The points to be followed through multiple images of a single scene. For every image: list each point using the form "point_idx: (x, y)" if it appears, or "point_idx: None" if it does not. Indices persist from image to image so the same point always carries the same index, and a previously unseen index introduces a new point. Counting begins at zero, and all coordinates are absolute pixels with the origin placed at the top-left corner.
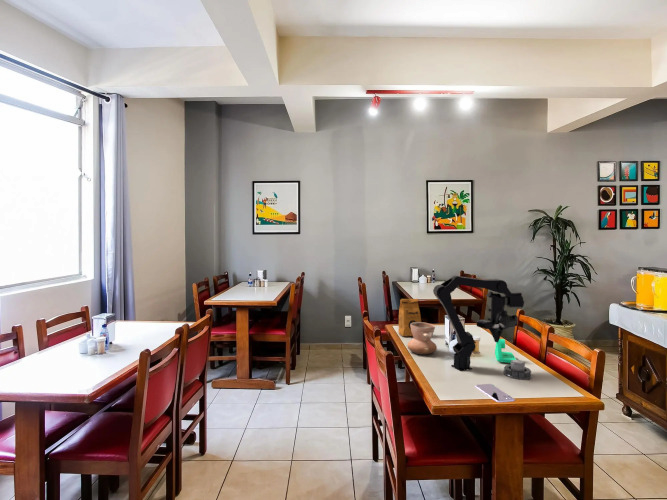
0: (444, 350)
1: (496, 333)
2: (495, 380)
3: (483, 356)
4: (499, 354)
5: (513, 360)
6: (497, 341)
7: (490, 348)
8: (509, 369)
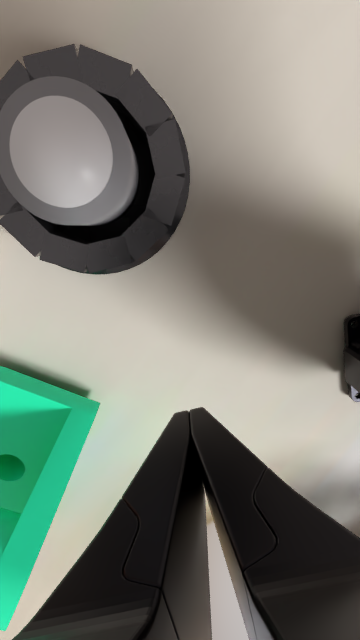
0: None
1: (308, 510)
2: (327, 92)
3: None
4: (75, 443)
5: (91, 192)
6: (194, 412)
7: None
8: (162, 164)
